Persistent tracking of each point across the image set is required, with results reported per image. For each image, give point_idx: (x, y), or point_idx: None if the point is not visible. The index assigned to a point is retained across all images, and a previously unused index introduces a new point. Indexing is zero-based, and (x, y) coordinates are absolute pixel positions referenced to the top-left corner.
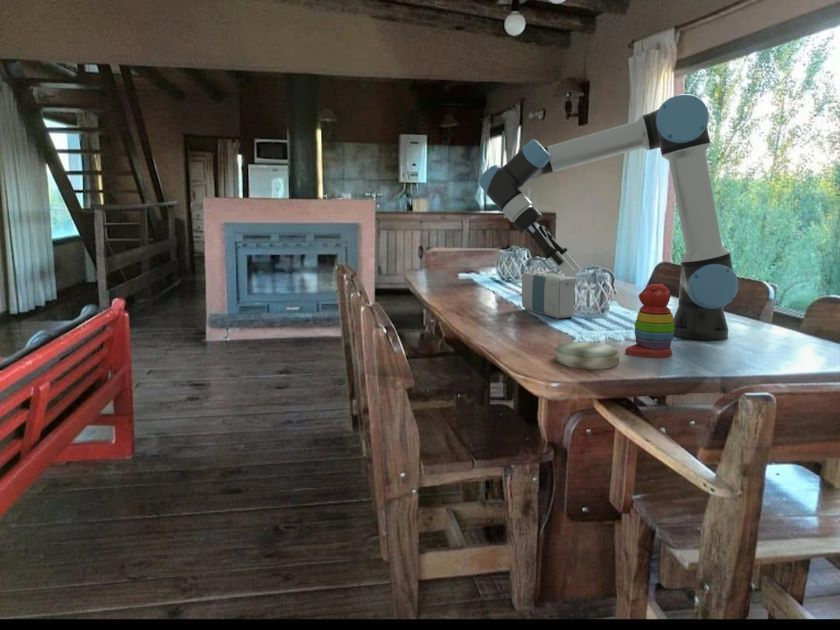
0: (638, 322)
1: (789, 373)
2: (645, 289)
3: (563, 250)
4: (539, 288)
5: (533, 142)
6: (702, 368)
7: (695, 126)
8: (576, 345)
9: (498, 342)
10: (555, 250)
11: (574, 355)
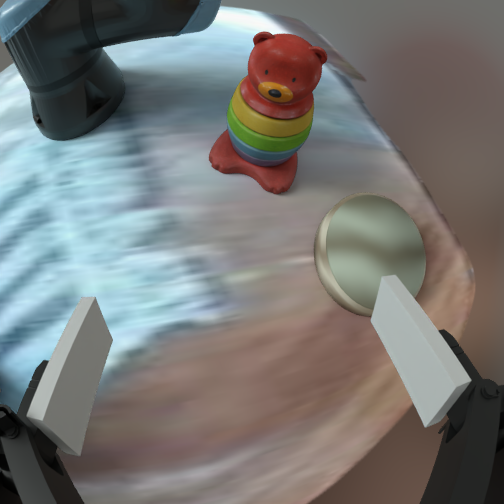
0: (300, 136)
1: None
2: (310, 71)
3: (29, 439)
4: None
5: None
6: (318, 96)
7: None
8: (367, 276)
9: (297, 468)
10: (492, 381)
11: (423, 264)
